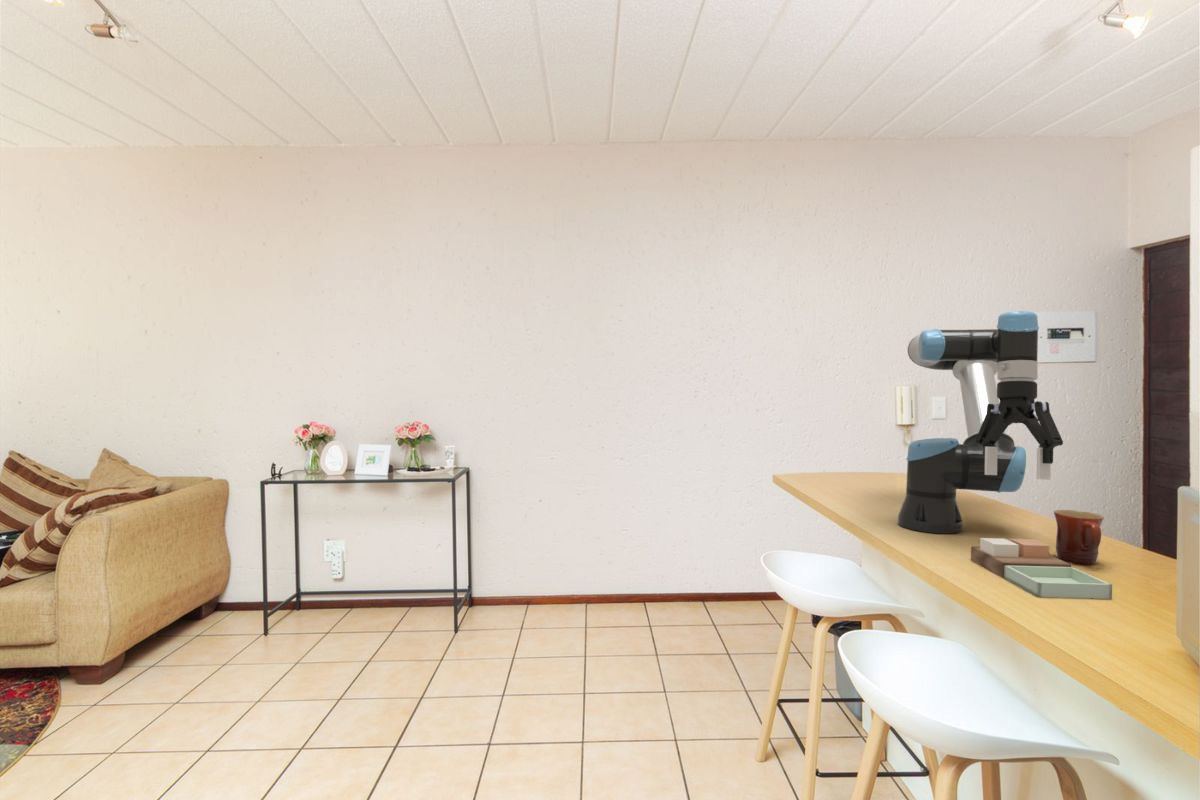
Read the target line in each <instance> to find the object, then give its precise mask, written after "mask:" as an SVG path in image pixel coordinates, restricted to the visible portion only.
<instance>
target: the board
mask: <svg viewBox="0 0 1200 800" xmlns="http://www.w3.org/2000/svg"><path fill="white" fill-rule="evenodd" d="M970 561H971V562H973V563H975V564H977V565H979V566H981V567H983V568H984V569H985V570H988V571H990V572H992V573H993V574H995V575H997V576H999V577H1000V578H1002V579H1004V565H1011V566H1050V567H1072V563H1070V562H1066V561H1063V560H1061V559H1060V558H1058V557H1056V556H1053V555H1050V554H1049V558H1035V557H1022V556H1020V555H1018V557H995V556H991V555H989V554H987V553H986V552H984V551H982V550H980V546H971V547H970Z"/></svg>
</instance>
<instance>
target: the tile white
mask: <svg viewBox="0 0 1200 800" xmlns="http://www.w3.org/2000/svg"><path fill="white" fill-rule="evenodd" d="M979 547H980V550H982V551H984V552H986V553H987V554H989V555H991V556H995V557H1018V554H1019V545H1018V544H1016V543H1013V542H1011V541H1009V540H1008V539H1007V538H993V537H991V538H989V537H980V539H979Z"/></svg>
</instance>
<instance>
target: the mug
mask: <svg viewBox="0 0 1200 800" xmlns="http://www.w3.org/2000/svg"><path fill="white" fill-rule="evenodd" d="M1053 515H1054V518H1055V521H1056V528H1057V529H1056V537H1055V538H1056V539H1055V540H1056V541H1055V550H1056V556H1057V558H1058V559H1060V560H1062V561H1064V562H1066V563H1069V564H1075V565H1085V566H1087V565H1093V564H1095V563H1096V562H1097V560H1098V557H1099V553H1100V552H1099V549H1100V548H1099V546H1100V544H1101V541H1102V530H1101V526H1102V523H1103V522H1104V519H1105V517H1104V516H1103V515H1101V514H1099V513H1094V512H1089V511H1088V512H1087V511H1083V510H1074V509H1073V510H1072V509H1058V510H1057V509H1056V510H1054V511H1053Z"/></svg>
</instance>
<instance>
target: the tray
mask: <svg viewBox="0 0 1200 800" xmlns="http://www.w3.org/2000/svg"><path fill="white" fill-rule="evenodd" d="M1003 579H1004V580H1006V581H1008V582H1009V583H1011V584H1013V585H1015V586H1017V587H1019V588H1020V589H1022V590H1024V591H1026V592H1027V593H1030V594H1032V595H1033V596H1035V597H1037V598H1062V599H1063V598H1065V599H1066V598H1067V599H1091V598H1093V599H1094V600H1095V599H1098V600H1099V599H1100V600H1113V584H1111V583H1109V582H1107V581H1105V580H1102V579H1100V578H1098V577H1096V576H1093V575H1091V574H1089V573H1087V572H1084V571H1082V570H1080V569H1077V568H1075V567H1073V566H1071V567H1050V566H1011V565H1004V578H1003ZM1093 599H1092V600H1093Z"/></svg>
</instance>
